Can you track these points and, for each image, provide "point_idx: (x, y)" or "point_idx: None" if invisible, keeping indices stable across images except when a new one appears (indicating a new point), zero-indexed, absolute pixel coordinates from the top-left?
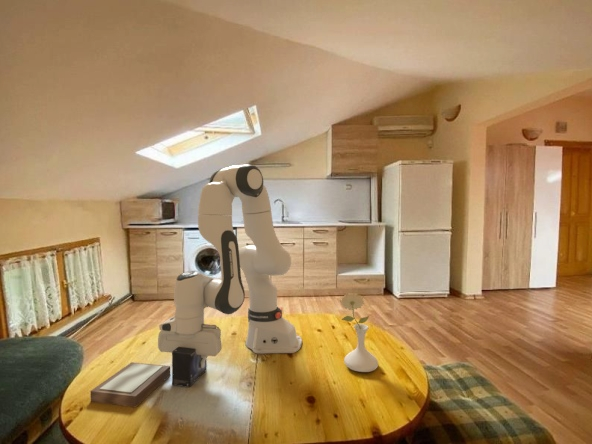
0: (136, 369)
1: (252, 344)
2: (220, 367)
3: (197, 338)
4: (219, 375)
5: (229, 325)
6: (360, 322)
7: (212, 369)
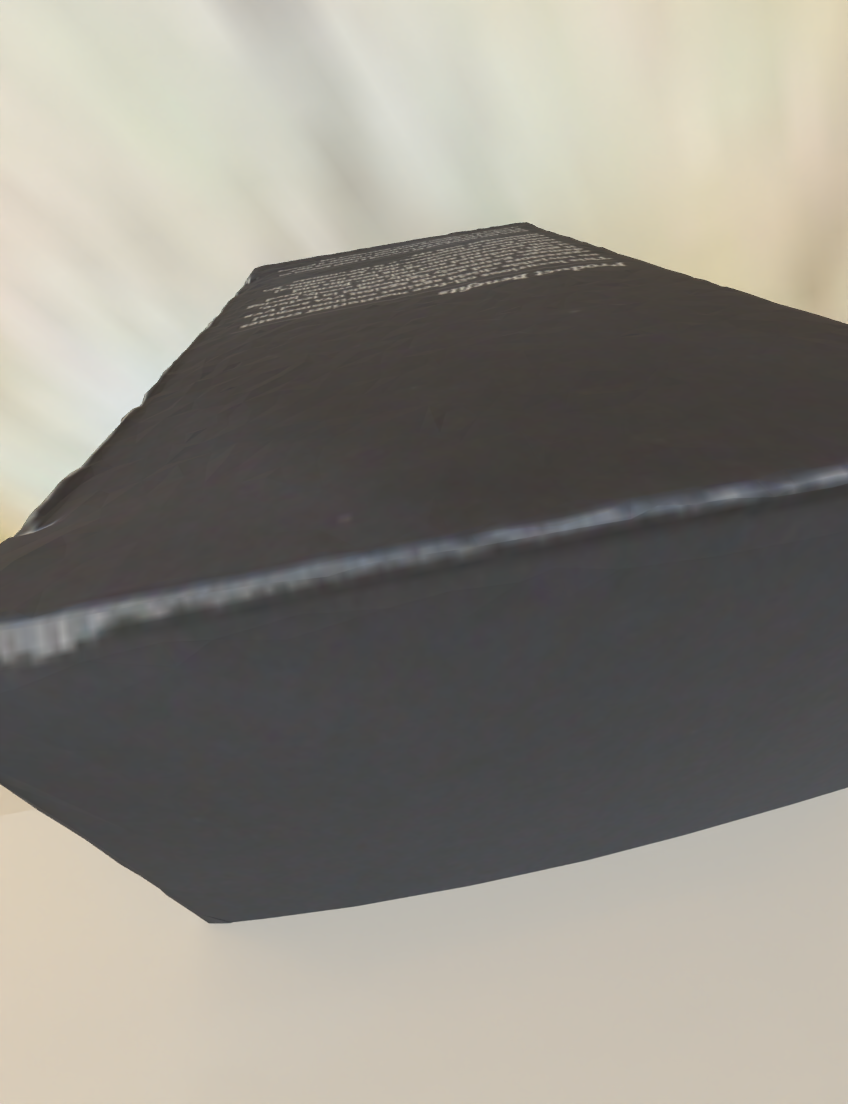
0: None
1: None
2: (744, 21)
3: None
4: (767, 292)
5: None
6: None
7: (617, 165)
